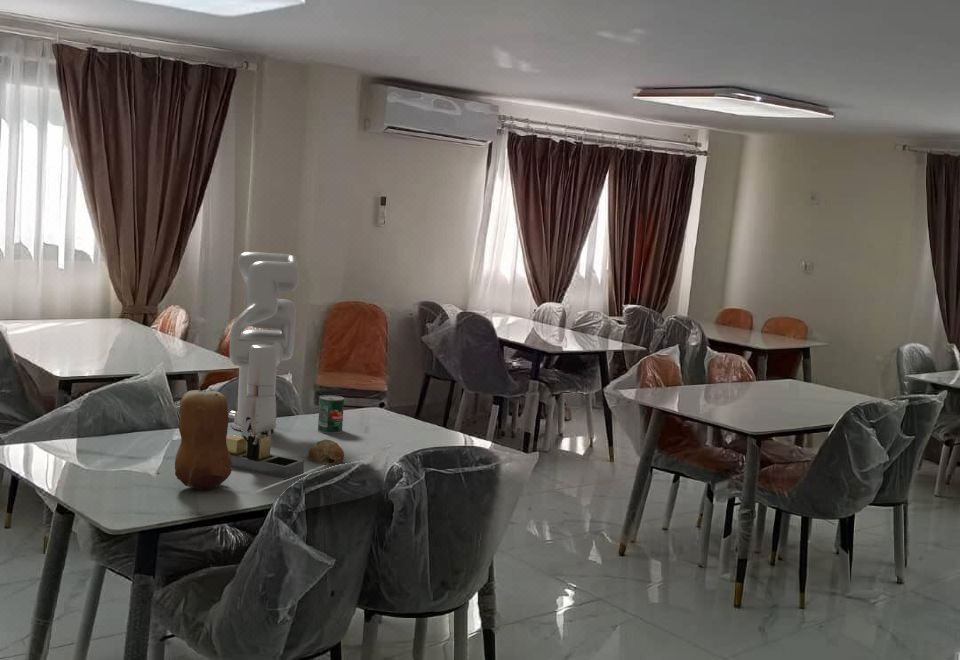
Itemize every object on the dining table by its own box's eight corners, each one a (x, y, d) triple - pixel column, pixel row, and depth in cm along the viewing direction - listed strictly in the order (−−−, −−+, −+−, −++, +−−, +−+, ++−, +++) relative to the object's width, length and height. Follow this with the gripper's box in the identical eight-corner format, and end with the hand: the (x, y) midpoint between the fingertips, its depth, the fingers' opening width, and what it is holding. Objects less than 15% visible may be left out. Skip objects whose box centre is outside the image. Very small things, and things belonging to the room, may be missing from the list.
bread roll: (311, 477, 276) (316, 455, 272) (302, 453, 284) (306, 432, 280) (344, 475, 281) (350, 453, 277) (334, 451, 288) (339, 430, 284)
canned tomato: (321, 427, 321) (323, 394, 320) (345, 429, 320) (347, 396, 319) (314, 432, 314) (316, 398, 312) (338, 434, 313) (340, 400, 311)
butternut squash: (209, 477, 256) (213, 383, 252) (241, 490, 247) (245, 392, 244) (162, 486, 245) (165, 388, 242) (193, 499, 236) (197, 398, 233)
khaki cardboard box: (222, 462, 269) (223, 437, 268) (232, 459, 273) (233, 434, 272) (235, 465, 267) (237, 440, 266) (246, 462, 271) (247, 437, 270)
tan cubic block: (246, 461, 265) (247, 436, 265) (256, 458, 270) (257, 433, 269) (259, 464, 264) (261, 438, 263) (269, 460, 268) (271, 435, 267)
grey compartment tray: (211, 464, 268) (212, 452, 267) (231, 458, 276) (231, 446, 275) (285, 480, 258) (285, 467, 258) (303, 473, 266) (304, 460, 266)
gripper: (268, 384, 273) (265, 448, 276) (230, 392, 258) (227, 460, 260) (290, 387, 271) (287, 452, 273) (253, 396, 255) (250, 465, 257)
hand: (258, 455), depth 266 cm, fingers closed on tan cubic block, 4 cm apart
